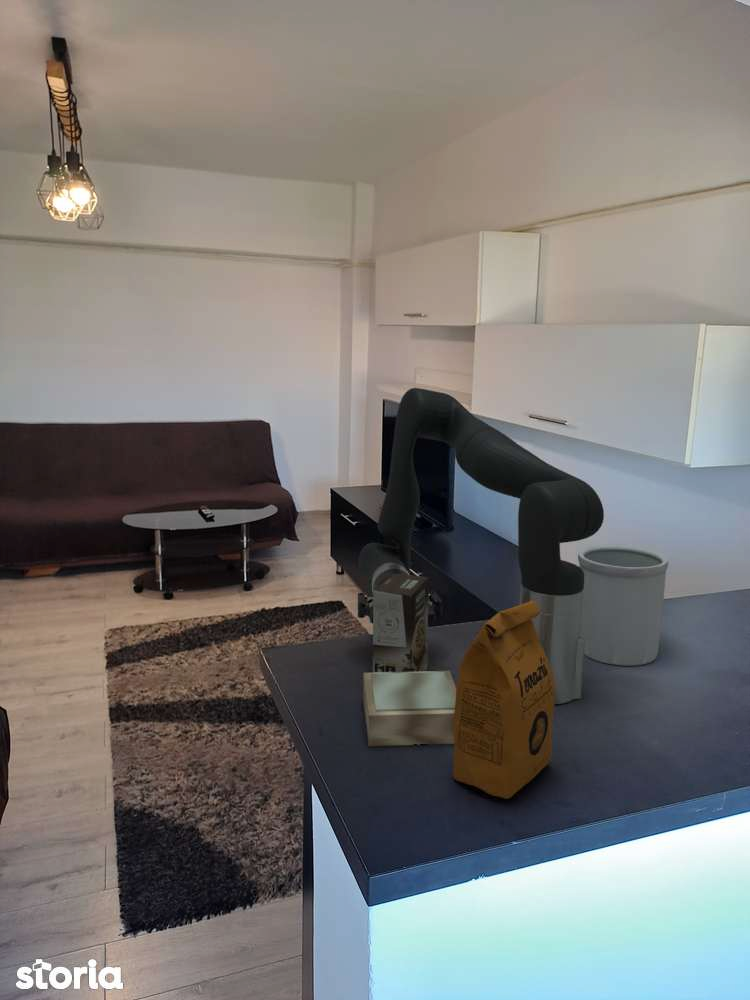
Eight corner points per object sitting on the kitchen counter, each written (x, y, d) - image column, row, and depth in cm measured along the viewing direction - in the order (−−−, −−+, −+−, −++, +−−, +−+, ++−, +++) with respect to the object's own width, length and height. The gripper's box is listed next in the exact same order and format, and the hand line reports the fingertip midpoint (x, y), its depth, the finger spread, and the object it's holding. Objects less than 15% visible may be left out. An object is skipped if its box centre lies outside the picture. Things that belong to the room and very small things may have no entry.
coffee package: (564, 771, 95) (575, 607, 91) (506, 813, 87) (516, 634, 82) (499, 741, 102) (507, 587, 98) (440, 777, 94) (446, 611, 89)
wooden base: (448, 698, 114) (449, 669, 113) (464, 743, 102) (465, 710, 101) (363, 700, 113) (363, 670, 112) (368, 746, 101) (368, 713, 100)
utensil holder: (554, 647, 133) (561, 553, 130) (602, 627, 143) (609, 538, 139) (629, 676, 122) (638, 573, 119) (675, 652, 132) (685, 556, 128)
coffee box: (410, 694, 115) (410, 595, 111) (371, 686, 118) (371, 590, 114) (429, 668, 124) (430, 576, 120) (392, 662, 126) (392, 571, 122)
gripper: (354, 568, 136) (359, 598, 120) (432, 567, 137) (447, 596, 121) (354, 608, 137) (359, 642, 121) (431, 606, 138) (446, 640, 122)
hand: (403, 619), depth 121 cm, fingers open, 8 cm apart
